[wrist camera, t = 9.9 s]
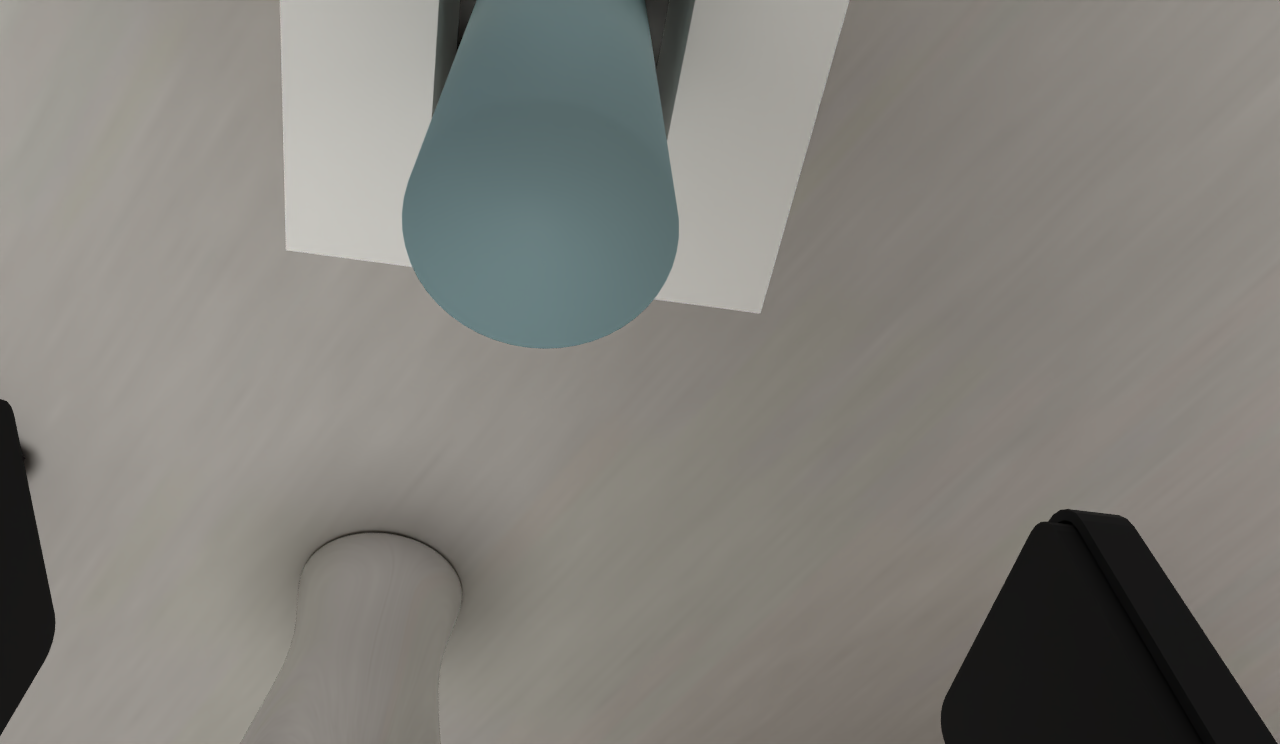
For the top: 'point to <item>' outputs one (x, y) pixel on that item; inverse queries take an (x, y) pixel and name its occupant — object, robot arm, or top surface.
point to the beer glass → (364, 646)
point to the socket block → (691, 105)
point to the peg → (545, 175)
